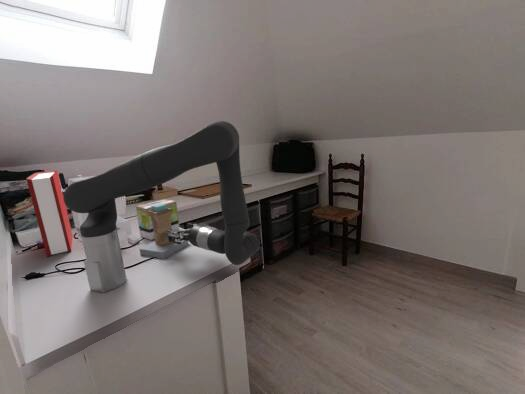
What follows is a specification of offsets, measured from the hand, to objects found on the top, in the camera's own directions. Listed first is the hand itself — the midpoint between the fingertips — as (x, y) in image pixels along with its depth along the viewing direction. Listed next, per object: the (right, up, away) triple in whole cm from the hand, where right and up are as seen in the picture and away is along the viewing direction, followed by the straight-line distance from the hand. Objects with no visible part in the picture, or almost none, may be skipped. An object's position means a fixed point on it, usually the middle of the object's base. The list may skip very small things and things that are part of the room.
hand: (177, 229), depth 99 cm
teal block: (-9, +6, +6) cm, 12 cm away
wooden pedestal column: (-8, -7, +9) cm, 13 cm away
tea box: (-17, -6, +28) cm, 33 cm away
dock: (-8, -9, +9) cm, 15 cm away
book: (-59, -10, +22) cm, 64 cm away
